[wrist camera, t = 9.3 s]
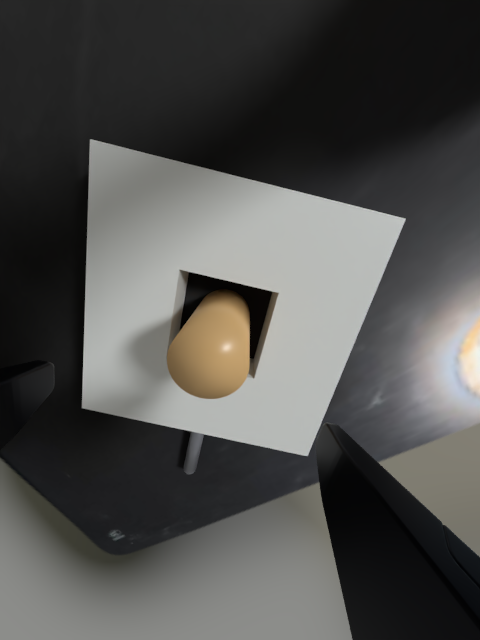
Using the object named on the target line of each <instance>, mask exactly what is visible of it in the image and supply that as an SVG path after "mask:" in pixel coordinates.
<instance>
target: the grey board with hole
mask: <svg viewBox="0 0 480 640" xmlns="http://www.w3.org/2000/svg"><path fill="white" fill-rule="evenodd" d="M405 220H406V219H404V218H400V217H396V216H392V215H388V214H385V213H381V212H377V211H373V210H369V209H365V208H361V207H357V206H353V205H349V204H345V203H341V202H337V201H333V200H329V199H325V198H321V197H317V196H313V195H309V194H305V193H301V192H297V191H293V190H289V189H285V188H282V187H278V186H274V185H270V184H266V183H262V182H258V181H254V180H250V179H246V178H242V177H238V176H234V175H230V174H226V173H222V172H218V171H214V170H210V169H206V168H202V167H198V166H194V165H190V164H186V163H183V162H179V161H175V160H171V159H167V158H163V157H159V156H155V155H151V154H147V153H143V152H139V151H135V150H131V149H127V148H123V147H119V146H115V145H111V144H107V143H103V142H99V141H95V140H91V139H90V157H89V190H88V223H87V255H86V288H85V321H84V354H83V387H82V408H84V409H88V410H93V411H98V412H102V413H107V414H112V415H116V416H121V417H126V418H130V419H135V420H140V421H145V422H149V423H154V424H159V425H163V426H168V427H173V428H177V429H182V430H187V431H191V434H190V438H189V443H188V448H187V453H186V458H185V462H184V471H185V473H187V474H192V473H194V472H195V470H196V467H197V462H198V458H199V454H200V449H201V445H202V441H203V436H204V434H206V435H210V436H215V437H220V438H224V439H229V440H234V441H238V442H243V443H248V444H253V445H257V446H262V447H267V448H271V449H276V450H281V451H285V452H290V453H295V454H299V455H304V456H308V454H309V451H310V449H311V446H312V444H313V441H314V439H315V437H316V434H317V432H318V429H319V427H320V425H321V422H322V420H323V417H324V415H325V413H326V410H327V408H328V405H329V403H330V400H331V398H332V396H333V393H334V391H335V388H336V386H337V384H338V381H339V379H340V376H341V374H342V372H343V369H344V367H345V364H346V362H347V359H348V357H349V355H350V352H351V350H352V347H353V345H354V343H355V340H356V338H357V335H358V333H359V331H360V328H361V326H362V323H363V321H364V318H365V316H366V314H367V311H368V309H369V306H370V304H371V302H372V299H373V297H374V294H375V292H376V289H377V287H378V285H379V282H380V280H381V277H382V275H383V273H384V270H385V268H386V265H387V263H388V261H389V258H390V256H391V253H392V251H393V248H394V246H395V244H396V241H397V239H398V236H399V234H400V232H401V229H402V227H403V224H404V222H405ZM189 272H192V273H196V274H200V275H205V276H209V277H213V278H217V279H222V280H226V281H230V282H234V283H239V284H243V285H247V286H251V287H255V288H260V289H264V290H268V291H272V295H271V299H270V302H269V306H268V309H267V313H266V317H265V320H264V324H263V327H262V331H261V335H260V338H259V342H258V345H257V349H256V353H255V356H254V359H251V358H250V364H249V372H248V375H247V378H246V380H245V382H244V383H243V384H242V386H241V387H240V388H239V389H238V390H236V391H235V392H234V393H232V394H230V395H228V396H226V397H222V398H218V399H204V398H199V397H195V396H193V395H190V394H189V393H187V392H185V391H184V390H182V389H181V388H180V387H179V386H178V385H177V384H176V383H175V382H174V380H173V379H172V377H171V375H170V373H169V370H168V366H167V353H168V349H169V347H170V345H171V343H172V341H173V340H174V338H175V337H176V336H177V334H178V333H179V330H180V324H181V318H182V312H183V306H184V299H185V293H186V287H187V281H188V275H189Z"/></svg>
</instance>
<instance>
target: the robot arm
mask: <svg viewBox="0 0 480 640" xmlns="http://www.w3.org/2000/svg"><path fill="white" fill-rule="evenodd" d="M53 388H54V365H53V364H52V363H51V362H46V361H41V360H37V361H32V362H28V363H23V364H19V365H14V366H10V367H5V368H1V369H0V450H1V449H2V448H3V447H4V446H5V445H6V444H7V443H8V442H9V441H10V440H11V439H12V438H13V437H14V436H15V435H16V434H17V433H18V432H19V430H20V429H21V428H22V427H23V426H24V425H25V423H26V422H27V421H28V420H29V419H30V417H31V416H32V415H33V414H34V413H35V411H36V410H37V409H38V408H39V407H40V405H41V404H42V403H43V402H44V401H45V399H46V398H47V397H48V396H49V395H50V393H51V392H52V390H53ZM316 457H317V465H318V474H319V482H320V490H321V497H322V502H323V507H324V511H325V516H326V521H327V525H328V529H329V534H330V539H331V543H332V548H333V552H334V557H335V562H336V566H337V571H338V575H339V579H340V584H341V589H342V593H343V598H344V602H345V607H346V612H347V616H348V620H349V625H350V630H351V634H352V639H353V640H480V557H479V556H478V555H477V554H476V553H475V552H473V551H472V550H471V549H470V548H469V547H468V546H467V545H466V544H465V543H464V542H462V541H461V540H460V539H459V538H458V537H457V536H456V535H455V534H454V533H453V532H452V531H451V530H450V529H449V528H448V527H446V526H445V525H442V522H441V521H440V520H439V519H438V518H437V517H436V516H435V515H433V514H432V513H431V512H430V511H429V510H428V509H427V508H426V507H425V506H424V505H423V504H422V503H421V502H419V500H417V499H416V498H415V497H414V496H413V495H412V494H411V493H410V492H409V491H408V490H407V489H405V487H403V486H402V485H401V484H400V483H399V482H398V481H397V480H396V479H395V478H394V477H393V476H392V475H391V474H390V473H389V472H387V471H386V470H385V469H384V468H383V467H382V466H381V465H380V464H379V463H378V462H377V461H376V460H375V459H374V458H372V457H371V456H370V455H369V454H368V453H367V452H366V451H365V450H364V449H363V448H362V447H361V446H360V445H359V444H357V443H356V442H355V441H354V440H353V439H352V438H351V437H350V436H349V435H348V434H347V433H346V432H345V431H344V430H342V429H341V428H340V427H339V426H338V425H336V424H332V423H324V424H323V426H322V429H321V431H320V433H319V436H318V438H317V441H316Z"/></svg>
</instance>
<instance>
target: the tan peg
mask: <svg viewBox="0 0 480 640" xmlns="http://www.w3.org/2000/svg"><path fill="white" fill-rule="evenodd" d="M249 364H250V311H249V307H248V304H247V302H246V301H245V299H244V298H243V297H242V296H241V295H239V294H238V293H236V292H234V291H232V290H227V289H219V290H215V291H213V292H211V293H209V294H208V295H207V296H206V297H205V298H204V299H203V300H202V302H201V303H200V304H199V306H198V307H197V308H196V310H195V311H194V313H193V314H192V315H191V317H190V318H189V319H188V321H187V322H186V323H185V325H184V326H183V328H182V329H181V330H180V332H179V333H178V334H177V336H176V337H175V338H174V340H173V341H172V343H171V345H170V347H169V349H168V353H167V366H168V370H169V373H170V375H171V377H172V379H173V380H174V382H175V383H176V384H177V385H178V386H179V387H180V388H181V389H182V390H184V391H185V392H187V393H189V394H190V395H193V396H195V397H199V398H204V399H218V398H222V397H226V396H228V395H230V394H232V393H234V392H235V391H236V390H238V389H239V388H240V387H241V386H242V384H243V383H244V382H245V380H246V378H247V375H248V372H249Z"/></svg>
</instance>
